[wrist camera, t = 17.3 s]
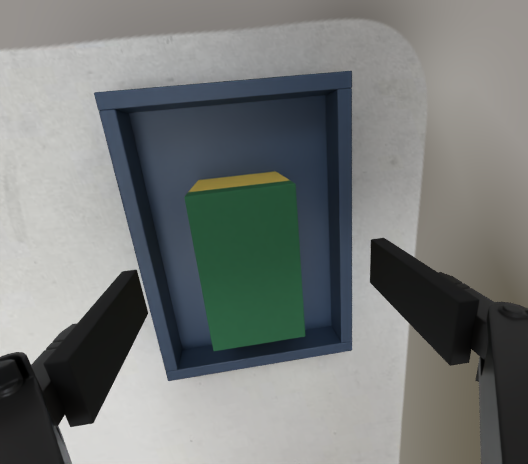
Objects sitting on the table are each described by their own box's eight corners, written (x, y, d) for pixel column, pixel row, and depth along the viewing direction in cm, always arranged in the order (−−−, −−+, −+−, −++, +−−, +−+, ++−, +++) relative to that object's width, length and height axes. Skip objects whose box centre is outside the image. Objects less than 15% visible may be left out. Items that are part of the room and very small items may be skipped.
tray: (114, 100, 20) (93, 92, 17) (334, 81, 21) (352, 70, 18) (175, 353, 27) (167, 381, 24) (338, 327, 28) (352, 350, 25)
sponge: (197, 180, 21) (183, 196, 15) (275, 171, 22) (295, 183, 15) (217, 295, 25) (213, 351, 18) (285, 285, 25) (305, 336, 18)
